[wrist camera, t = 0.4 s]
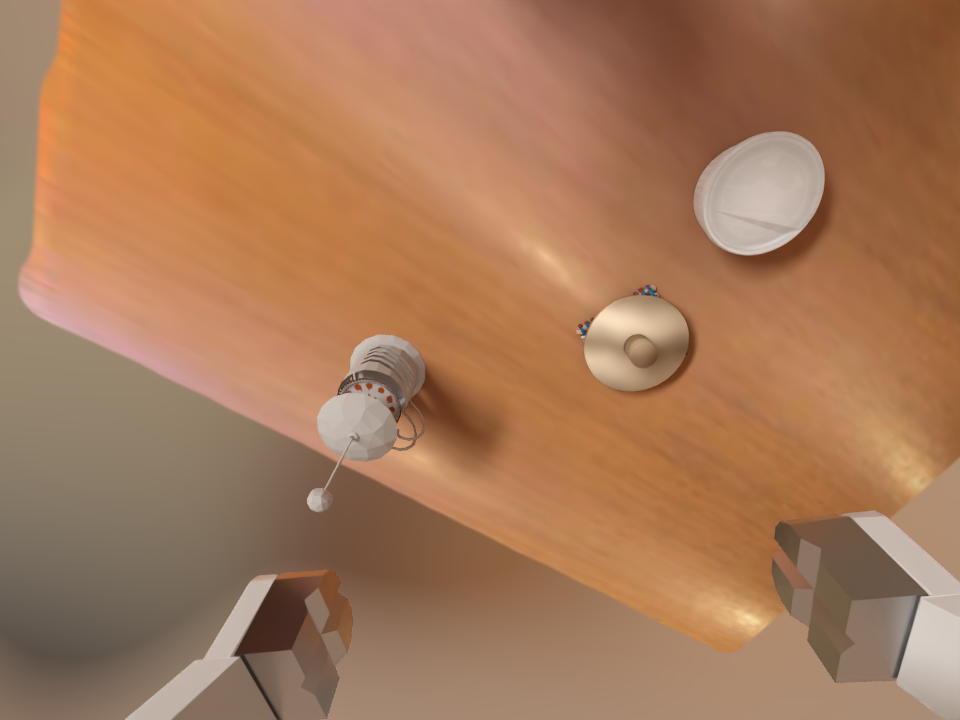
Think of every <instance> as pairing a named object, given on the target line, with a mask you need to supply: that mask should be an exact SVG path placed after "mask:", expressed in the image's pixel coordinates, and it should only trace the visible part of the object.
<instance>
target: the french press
mask: <svg viewBox="0 0 960 720" xmlns="http://www.w3.org/2000/svg"><path fill="white" fill-rule="evenodd" d="M351 376H352V381H350V378H351ZM424 381H425V364H424V362H423V359H422V357H421V355H420V353H419V352H418V351H417V350H416V349H415V348H414V347H413V346H412V345H411V344H410V343H409V342H407V341H405V340H403V339H401V338H399V337H397V336H392V335H376V336H373V337H370V338H367V339H365V340H364V341H363V342H362V343H360V344H359V345H358V346H357V347H356V348H355V350H354V352H353V355H352V357H351V359H350V371H349V372H348V374H347V375H346V377H345V378H344V380H343V381H342V383H341V385H340V387H339V389H338V394H337V396H334V397H333V398H331V399H330V400H329V401H328V402H327V403H325V404H324V405H323V406H322V408H321V410H320V412H319V415H318V417H317V423H318V432H319V434H320V436H321V438H322V439H323V441H324V443H325V445H327V446H328V447H329V448H330V449H331V450H332V451H333V452H335V453H336V454H337V455H340V456H341V458H340V460H339V462H338V464H337V466H336V468H335V470H334V471H333V473H332V475H331V477H330V479H329V481H328V483H327V485H326V487H325V489H321V488H317V489H314V490H312V491H311V493H310V494H309V497H308V498H307V503H308V505H309V507H310V509H311V510H314V511H316V512H323V511H324V510H326V509H327V508H328V507H330V506H331V503H332V500H333V496H332V495H331V493H330V492H328V491H327V488H328V486H329V484H330V483H331V480H332V479H333V477H334V475H335V473H336V471H337V469H338V467H339V465H340V463H341V461H342V459H343V458H347V459H349V460H354V461H365V462H366V461H370V460H374V459H378V458H381V457H382V456H384V455H385V454H386V453H387V452H389V451H390V450H391V449H395V450H399V451H402V450H408V449H410V448H412V447H413V446H414V445H415V442H416V439H418V438H419V437H421V436H422V435H423V434H424V429H425V422H424V418H423V415H422V414H421V412H420V411H419V409H418V408H417V407H416V406H415V405H414V404H413V402H412V401H411V398H412V397H413V396H414V395H416V394H417V393H418V392H419V391H420V389H421V387H422V385H423V383H424ZM408 402H410V404H411V405H412V406H413V407H414V408H415V409H416V410H417V412H418V413H419V415H420V416H421V418H422V421H423V429H422V432H421V434H420V435H419V436H418V437H417V433H416V428H415V425H414V423H413V421H412V420H411V418H410V417H409V416H408V415H407V414H406V413H405V410H406V407H407V404H408ZM404 406H405V410H403V409H404ZM401 412H403V414H404V415H405V416H406V417H407V418H408V419H409V421H410V422H411V424H412V425H413V428H414V432H415V438H405V437H402V436H400V435H399V429H397V422H398V420H399V418H400V416H401ZM402 416H403V415H402ZM397 436H398V438H400V439H404V440H408V441H410V440H414V441H413V443H412V444H411V445H410V446H408V447H406V448H396V447H393V445H394V443H395V441H396V439H397Z"/></svg>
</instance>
